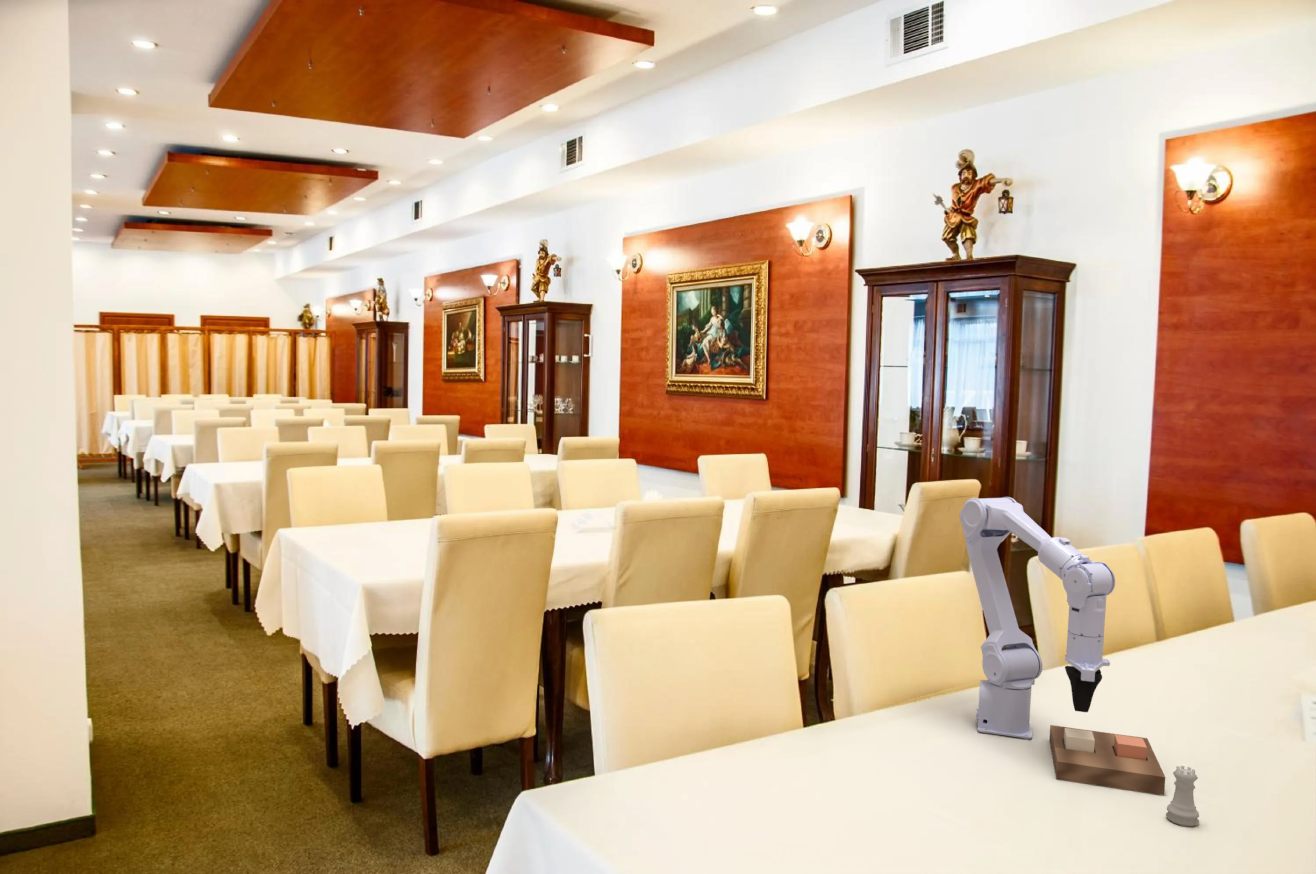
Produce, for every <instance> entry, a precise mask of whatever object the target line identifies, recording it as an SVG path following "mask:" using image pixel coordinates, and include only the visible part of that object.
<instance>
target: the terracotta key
mask: <svg viewBox="0 0 1316 874" xmlns="http://www.w3.org/2000/svg"><path fill="white" fill-rule="evenodd" d="M1121 735H1122V734H1120V735H1115V737H1114V753H1115V756H1119V757H1126V758H1133V759H1140V760H1146V754H1147V747H1146V744H1145V742H1144V740H1143V738H1144V737H1142V738H1136V737H1137V736H1135V737H1129V736H1130V735H1127V736H1121Z"/></svg>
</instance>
